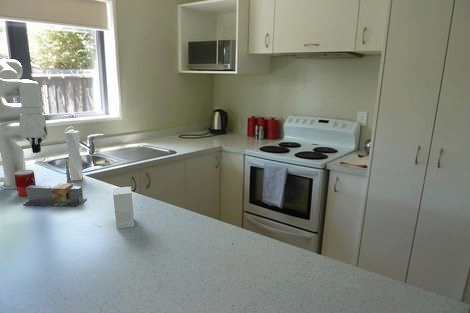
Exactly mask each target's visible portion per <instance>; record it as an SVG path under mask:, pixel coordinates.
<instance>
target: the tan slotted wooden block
mask: <svg viewBox="0 0 470 313" xmlns="http://www.w3.org/2000/svg"><path fill="white" fill-rule="evenodd" d="M73 184H74V183H59V184H57V185H53V186H54V187H52V188H51V194H52V201H67V197H66V193H68V192H70V188H72V187H74V185H73Z"/></svg>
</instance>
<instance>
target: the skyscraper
mask: <svg viewBox="0 0 470 313" xmlns="http://www.w3.org/2000/svg"><path fill="white" fill-rule="evenodd" d="M70 128H72V129H70ZM68 129H69V130H68ZM67 130H68V131H67ZM63 135H64V141H65V144H66V145H65V146H66V149H67V152H68V153H67V154H68V159H67V158H65V172H66V173H65V174H66V184H69V183H76V182H77V183H79V182H83V179H84V172H83V163H82V157H81V156H82V155H81V151H80V147H81V146H80V143H81V141H80V140H81V137H80V130H79V129H78V130H77V129H76V130H74V126H72V125H71V126H68V127H66V128H65V130H63Z"/></svg>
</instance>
